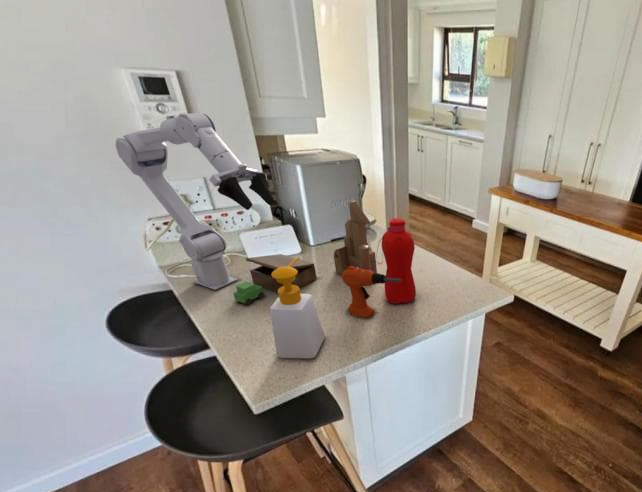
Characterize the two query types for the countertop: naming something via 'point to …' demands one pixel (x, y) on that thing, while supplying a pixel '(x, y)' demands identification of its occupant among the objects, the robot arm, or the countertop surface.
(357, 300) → the toy drill
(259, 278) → the wooden box
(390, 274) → the water bottle
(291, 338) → the soap bottle
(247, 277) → the countertop surface
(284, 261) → the lid
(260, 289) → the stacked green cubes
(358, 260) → the wooden toy
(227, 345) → the countertop surface
